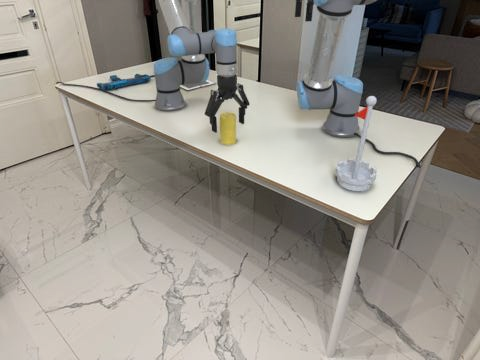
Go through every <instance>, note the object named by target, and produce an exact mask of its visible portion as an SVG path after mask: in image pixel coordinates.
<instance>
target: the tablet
mask: <svg viewBox="0 0 480 360" xmlns="http://www.w3.org/2000/svg"><path fill="white" fill-rule="evenodd" d="M215 84H216V82H214V81H211V80H209V79H207V80H206V81H205V82H201V83H194V84H185V85H180V89H183V90H185V91H193V90H196V89H200V88H205V87H207V86H208V87H209V86H212V85H215Z"/></svg>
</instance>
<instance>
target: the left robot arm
mask: <svg viewBox="0 0 480 360" xmlns="http://www.w3.org/2000/svg"><path fill="white" fill-rule="evenodd" d="M157 1H158V3H159V7H160V9H161V12H162V15H163V18H164V20H165V21H164V22H165V24H166V26H167V29H168V33H169V35H168V36H167V40H166V41H167V48H168V52H169V54H170V56H171V57H164V58H160V59H158V60H156V61H155V62H154V63H153V75H155V77H154V80H155V81H154V82H155V88H156V97H155V99H132V98H127V97H124V96H121V95H118V94H115V93H113V92H110V91H107V90H102V89H100V88H99V87H95V86H89V85H82V84H75V83H74V84H73V83H64V82H62V81H57V82H56V83H55V84H56V85H58V84H62V85H64V86H73V87H83V88H89V89H92V90H97V91H100V92H104V93H107V94H110V95H112V96H115V97H117V98H121V99H124V100H127V101H130V102H154V106H155V107H154V108H155V109H156V110H158V111H160V112H176V111H180V110H183V109H184V108H186V101H185V98H184V95H183V93H182V90H181V88H180V85H185V84H194V83H201V82H205V81H206V80H209V76H210V62H209V60H208V58H207V57H206V55H208V54H209V55H210V54H215V59H216V60H215V62H216V63H215V64H216V74H217V75H216V84H217V89H211V90H210V96H209V99H208V101H207V105H206V108H205V111H204V116H206V117H208V118H209V124H210V125H211V131H212V132H213V133H215V134H217V133H218V122H217V121H218V120H217V118H218V117H217V116H216V115H217V113H218V112H219V110H220V108H221V106H222V105H223V103H224V102H225V101H228V100H233V99H234V101H235V102H236V103H237V105H239V107H238V123H239V124H241V125H244V124H245V116H246V110H247V109H248V107H249V106H250V101H249V99H248V97H247V95H246V92H245V89H244V85H243V84H241V83H238V75H237V74H238V54H237V53H238V49H237V48H238V47H237V46H238V39H237V31H236V30H235V29H233V28H218V29H216V30H215V29H210V30H208V31H204V32H203V31H202V30H203V29H202V0H181V2H180V0H157ZM177 57H181V59H180V60H178V58H177ZM237 93H238V94H239V95H238V94H237Z"/></svg>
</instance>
